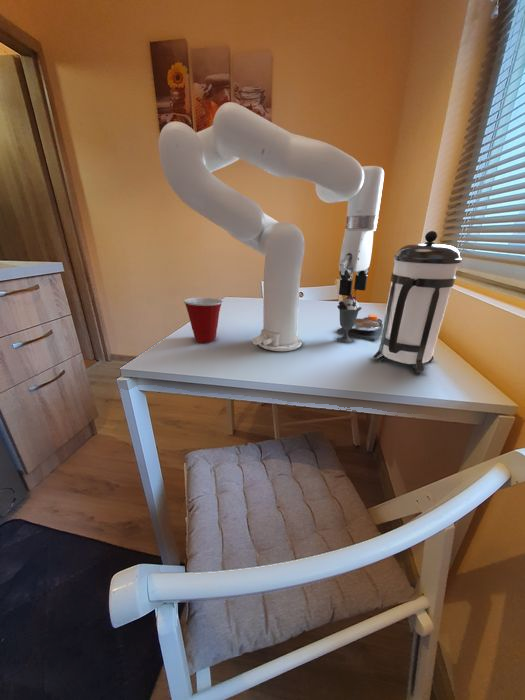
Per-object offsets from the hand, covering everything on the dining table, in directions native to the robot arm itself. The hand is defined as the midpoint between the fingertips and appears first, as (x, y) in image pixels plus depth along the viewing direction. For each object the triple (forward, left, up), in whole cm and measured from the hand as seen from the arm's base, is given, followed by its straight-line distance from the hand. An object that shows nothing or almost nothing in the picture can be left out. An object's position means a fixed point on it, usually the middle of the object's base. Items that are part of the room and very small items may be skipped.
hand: (352, 292), depth 77 cm
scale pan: (+10, -1, -12) cm, 15 cm away
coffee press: (-5, -17, -14) cm, 23 cm away
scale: (+13, -1, -14) cm, 19 cm away
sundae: (0, 0, -14) cm, 14 cm away
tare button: (+18, -1, -12) cm, 22 cm away
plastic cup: (-27, +31, -15) cm, 44 cm away
